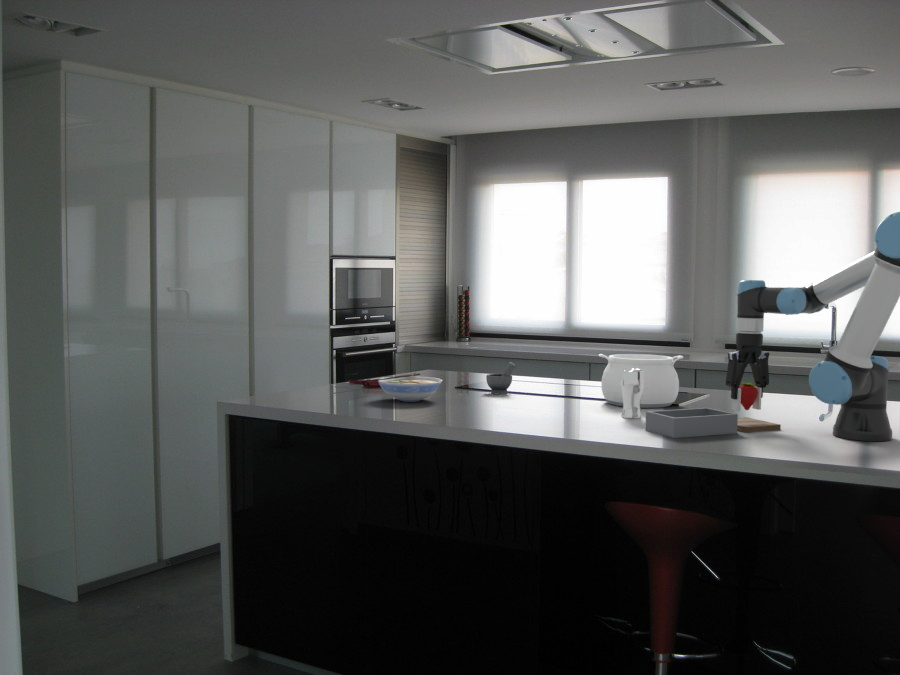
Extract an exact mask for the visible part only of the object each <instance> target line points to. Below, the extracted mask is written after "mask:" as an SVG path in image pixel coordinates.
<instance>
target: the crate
mask: <svg viewBox="0 0 900 675" xmlns="http://www.w3.org/2000/svg"><path fill="white" fill-rule="evenodd" d="M738 418H739V415H738V413H733V412H729V411H726V410H725V411H724V410H721V409H720V410H719V409H714V408H711V407H701V408H681V409H663V410H648V411H645V431H647V432H650V433H653V434H658V435H662V436H665V437H668V438H671V439H679V438H682V439H683V438H691V437H692V438H693V437H694V438H695V437H706V436H718V435H719V436H720V435H734V434H738V430H737V420H738Z"/></svg>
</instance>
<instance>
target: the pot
mask: <svg viewBox="0 0 900 675" xmlns="http://www.w3.org/2000/svg"><path fill="white" fill-rule="evenodd" d="M598 357H600V358H604V359H606V360H607V365H606V367H605V369H604V370H603V373H602V376H601V392H602V395H603V397H604V399H605V400H606V402H607V403H608V404H610V405H613V406H618V407H622V408H623V399H622V393H621V375H622V369H640V370H643V392H642V397H641V402H640V409H659V408H666V407H667V408H668V407H670V406H671V405H672V404H673V403H675V401H676V399H677V398H678V394H679V390H680V388H679V387H680V380H679V376H678V372H677V371H676V369H675V367H674V364H675V363H676V362H677V361H678V360H682V359H684V356H683V355H674V356H667V355H660V354H646V353H645V354H644V353H620V354H611V355H608V356H607V355H605V354H603V353H599V354H598Z"/></svg>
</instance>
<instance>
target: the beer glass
mask: <svg viewBox="0 0 900 675" xmlns="http://www.w3.org/2000/svg"><path fill="white" fill-rule="evenodd" d="M642 392H643V370H640V369H622V375H621V393H622V399H623V407H622V411H621V412H622V413H621V418H622V419H623V418H624V419H630V420H631V419H633V420H638V419H641V418H642V413H641V408H640V402H641V397H642Z"/></svg>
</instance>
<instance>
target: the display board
mask: <svg viewBox="0 0 900 675" xmlns="http://www.w3.org/2000/svg"><path fill="white" fill-rule="evenodd" d="M781 427H782V426H781V424H779V423H775V422H770V421H766V420H761V419H757V418H751V417H738V420H737V432H743V433H755V432H766V431H767V432H768V431H781Z"/></svg>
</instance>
